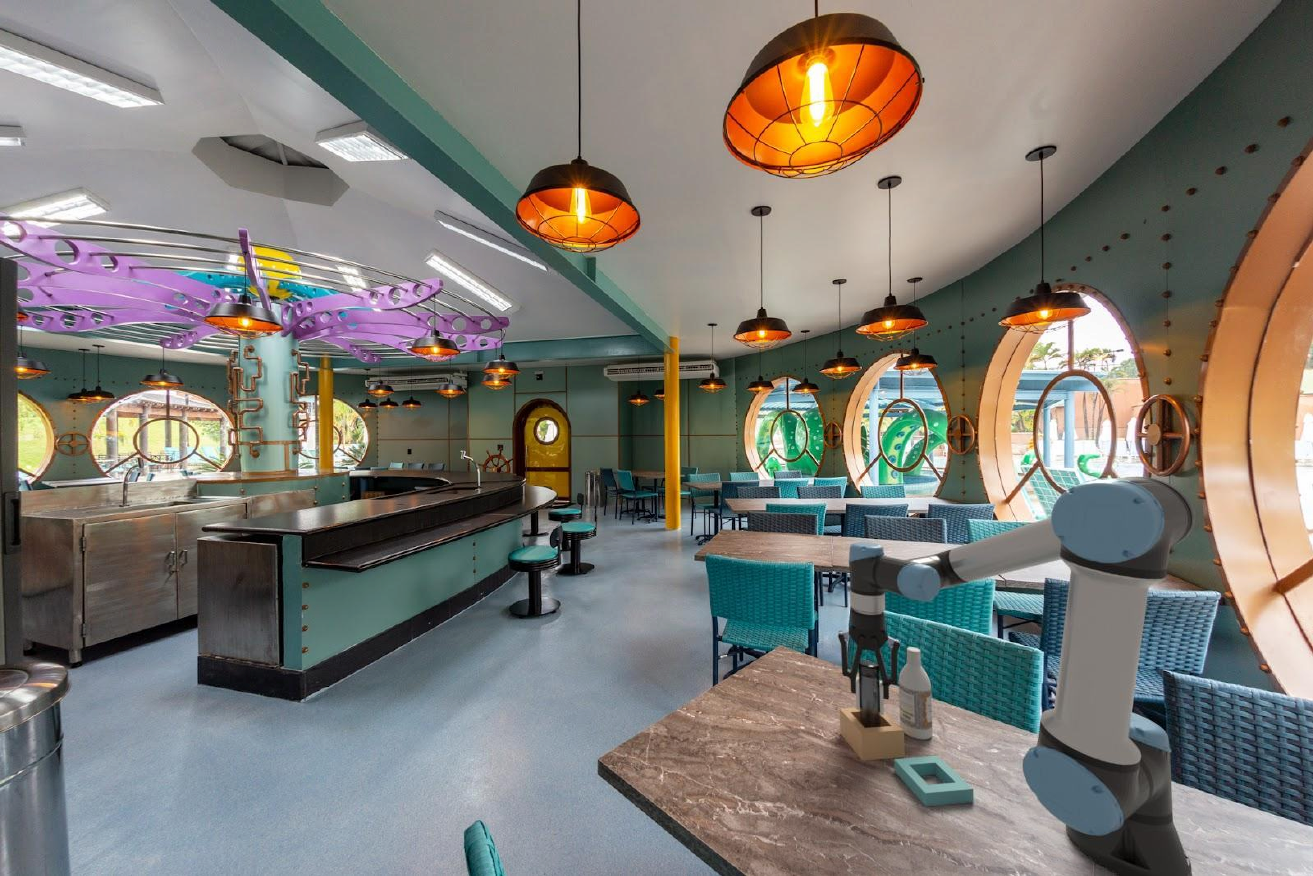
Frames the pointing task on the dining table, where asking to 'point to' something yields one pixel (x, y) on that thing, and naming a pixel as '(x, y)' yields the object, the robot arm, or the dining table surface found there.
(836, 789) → the dining table surface
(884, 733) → the socket
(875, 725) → the pin
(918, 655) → the bath foam
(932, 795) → the mount
